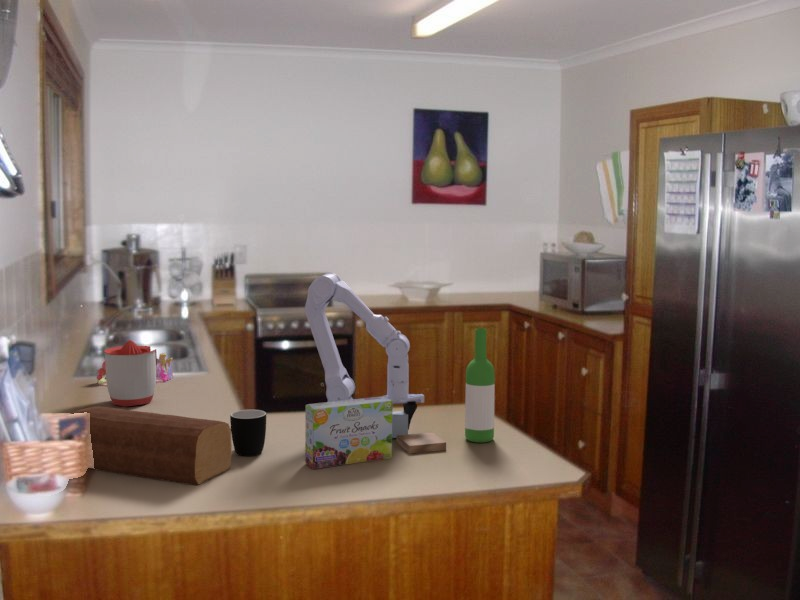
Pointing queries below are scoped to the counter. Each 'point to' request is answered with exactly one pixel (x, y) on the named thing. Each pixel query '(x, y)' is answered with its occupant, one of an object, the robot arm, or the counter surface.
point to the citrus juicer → (131, 374)
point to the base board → (421, 442)
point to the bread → (158, 445)
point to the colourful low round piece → (161, 371)
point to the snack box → (348, 431)
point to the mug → (248, 431)
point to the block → (399, 423)
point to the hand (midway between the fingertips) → (397, 429)
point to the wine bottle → (479, 393)
